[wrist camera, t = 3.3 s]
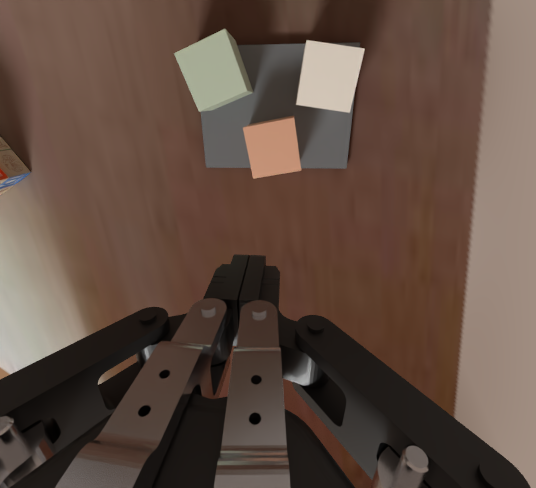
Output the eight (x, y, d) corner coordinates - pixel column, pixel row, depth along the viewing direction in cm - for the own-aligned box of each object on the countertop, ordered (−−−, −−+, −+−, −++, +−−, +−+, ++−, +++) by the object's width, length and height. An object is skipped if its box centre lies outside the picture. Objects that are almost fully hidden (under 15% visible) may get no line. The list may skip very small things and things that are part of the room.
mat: (196, 47, 27) (194, 45, 27) (358, 44, 26) (360, 42, 26) (208, 165, 32) (206, 167, 31) (345, 167, 31) (346, 168, 30)
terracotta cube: (249, 124, 29) (242, 127, 25) (293, 115, 29) (294, 117, 25) (258, 168, 31) (253, 178, 27) (299, 161, 30) (301, 170, 26)
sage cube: (191, 60, 27) (174, 53, 23) (235, 40, 26) (225, 28, 22) (211, 110, 29) (198, 111, 25) (253, 92, 28) (247, 90, 24)
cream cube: (304, 49, 26) (306, 39, 22) (353, 57, 26) (365, 48, 22) (295, 104, 28) (296, 104, 24) (341, 111, 28) (349, 112, 24)
